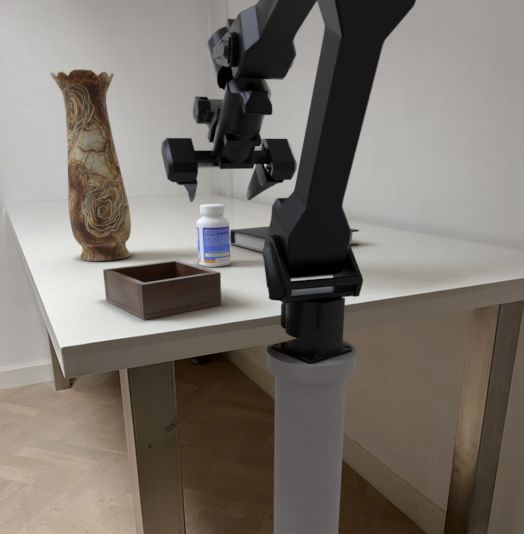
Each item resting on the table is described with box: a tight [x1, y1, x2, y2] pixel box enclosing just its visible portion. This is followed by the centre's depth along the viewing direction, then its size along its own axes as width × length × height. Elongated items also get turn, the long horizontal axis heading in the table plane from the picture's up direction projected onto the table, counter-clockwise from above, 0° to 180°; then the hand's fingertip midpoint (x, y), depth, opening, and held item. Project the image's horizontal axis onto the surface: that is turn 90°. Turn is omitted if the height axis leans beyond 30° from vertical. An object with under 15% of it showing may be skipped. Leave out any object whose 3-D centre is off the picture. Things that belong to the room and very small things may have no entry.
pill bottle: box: [196, 203, 231, 268], centre depth 92 cm, size 5×5×10 cm
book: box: [229, 225, 360, 254], centre depth 112 cm, size 22×15×3 cm
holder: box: [102, 259, 222, 321], centre depth 69 cm, size 11×11×4 cm
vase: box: [49, 68, 132, 262], centre depth 95 cm, size 10×11×30 cm
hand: (219, 198), depth 86 cm, fingers open, 9 cm apart
